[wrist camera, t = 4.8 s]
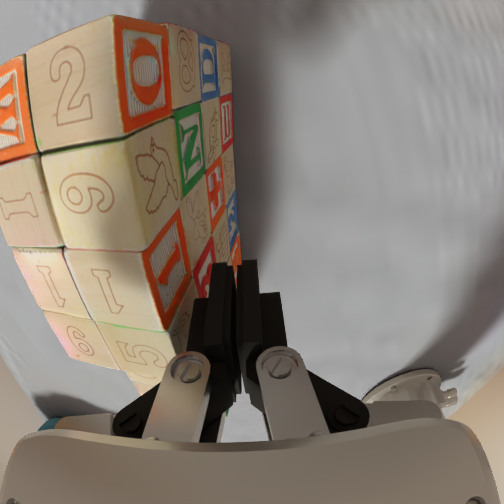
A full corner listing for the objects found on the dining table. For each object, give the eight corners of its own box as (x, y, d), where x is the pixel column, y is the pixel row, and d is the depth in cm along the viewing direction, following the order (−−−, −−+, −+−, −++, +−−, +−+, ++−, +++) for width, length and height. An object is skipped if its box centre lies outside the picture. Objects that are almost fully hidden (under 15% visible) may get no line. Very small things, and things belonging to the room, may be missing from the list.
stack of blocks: (247, 323, 26) (218, 459, 16) (178, 317, 27) (129, 438, 17) (230, 42, 14) (110, 7, 4) (132, 57, 15) (-35, 84, 5)
